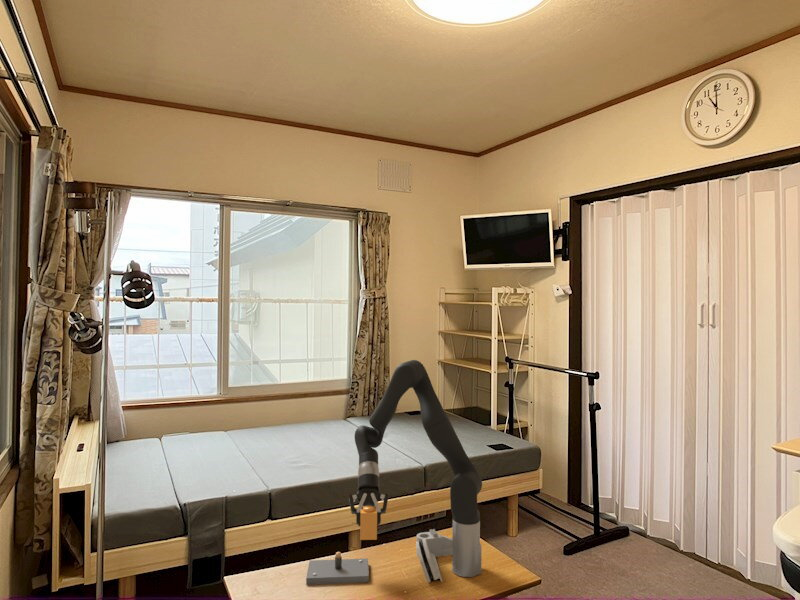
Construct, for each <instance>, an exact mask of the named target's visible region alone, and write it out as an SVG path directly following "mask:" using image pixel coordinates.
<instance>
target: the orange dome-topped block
mask: <svg viewBox="0 0 800 600" xmlns="http://www.w3.org/2000/svg"><path fill="white" fill-rule="evenodd" d="M359 527H360V529H359V530H360V531H359V532H360V533H359V534H360V535H359V536H360V537H359V540H360V541H368V540H369V541H373V540H375V541H376V540H377V541H378V526H377V509H376V508H375V507H374V506H371V505H366V506H364V507H362V509H361V515H360V526H359Z"/></svg>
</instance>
